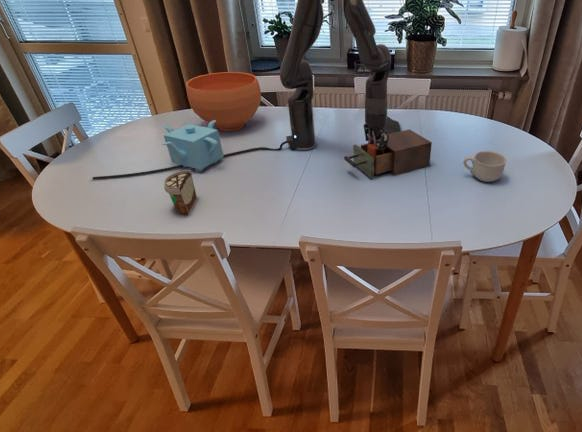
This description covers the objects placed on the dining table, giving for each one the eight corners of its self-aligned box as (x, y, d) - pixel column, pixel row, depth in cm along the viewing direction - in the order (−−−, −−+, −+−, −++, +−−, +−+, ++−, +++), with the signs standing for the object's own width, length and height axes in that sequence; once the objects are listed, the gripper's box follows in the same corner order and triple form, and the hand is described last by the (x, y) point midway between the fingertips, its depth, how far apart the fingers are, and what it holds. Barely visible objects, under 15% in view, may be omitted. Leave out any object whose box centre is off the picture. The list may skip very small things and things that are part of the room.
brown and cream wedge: (179, 197, 127) (170, 169, 122) (198, 196, 128) (190, 168, 122) (166, 218, 117) (156, 189, 112) (187, 217, 118) (178, 188, 112)
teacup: (502, 173, 141) (507, 153, 136) (501, 187, 132) (505, 166, 128) (463, 167, 145) (466, 147, 140) (459, 181, 136) (462, 160, 132)
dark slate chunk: (367, 141, 164) (367, 131, 161) (366, 122, 182) (366, 113, 180) (403, 141, 164) (404, 130, 162) (398, 122, 183) (399, 112, 180)
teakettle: (226, 170, 143) (217, 132, 135) (170, 179, 137) (158, 140, 129) (222, 150, 158) (215, 114, 149) (172, 157, 152) (161, 120, 144)
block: (384, 157, 140) (384, 146, 138) (373, 160, 138) (373, 149, 136) (377, 153, 143) (378, 142, 141) (367, 155, 141) (367, 144, 139)
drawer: (357, 181, 134) (356, 162, 130) (340, 166, 143) (339, 147, 139) (405, 168, 142) (406, 149, 138) (387, 155, 151) (387, 137, 147)
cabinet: (393, 175, 140) (394, 151, 135) (373, 159, 150) (374, 137, 145) (429, 165, 146) (431, 142, 141) (408, 151, 156) (409, 129, 151)
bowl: (270, 114, 191) (264, 71, 180) (257, 139, 167) (249, 90, 155) (208, 115, 191) (198, 71, 179) (186, 139, 166) (173, 91, 155)
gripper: (356, 105, 135) (357, 151, 144) (377, 118, 124) (376, 166, 134) (375, 102, 138) (374, 147, 147) (396, 114, 127) (395, 161, 137)
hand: (375, 156), depth 141 cm, fingers closed on block, 4 cm apart
